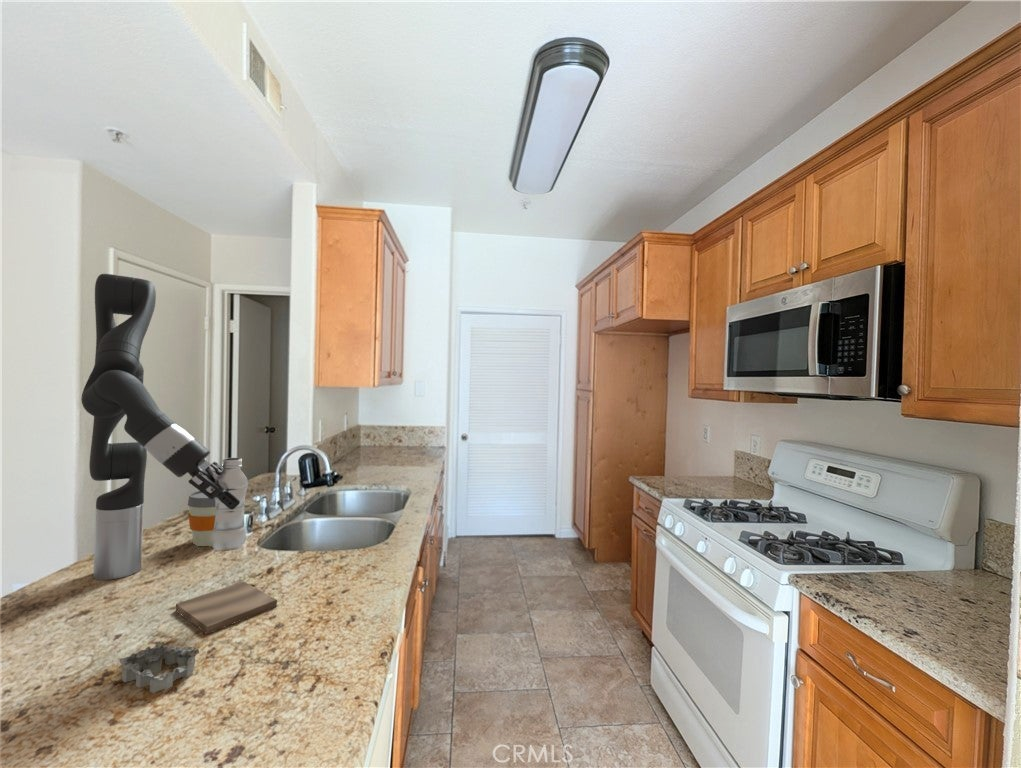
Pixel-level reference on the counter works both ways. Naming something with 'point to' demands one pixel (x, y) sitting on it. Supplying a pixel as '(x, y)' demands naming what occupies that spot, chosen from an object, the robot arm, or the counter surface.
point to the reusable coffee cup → (201, 518)
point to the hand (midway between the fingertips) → (239, 502)
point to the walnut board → (225, 606)
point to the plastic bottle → (228, 521)
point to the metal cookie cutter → (158, 666)
